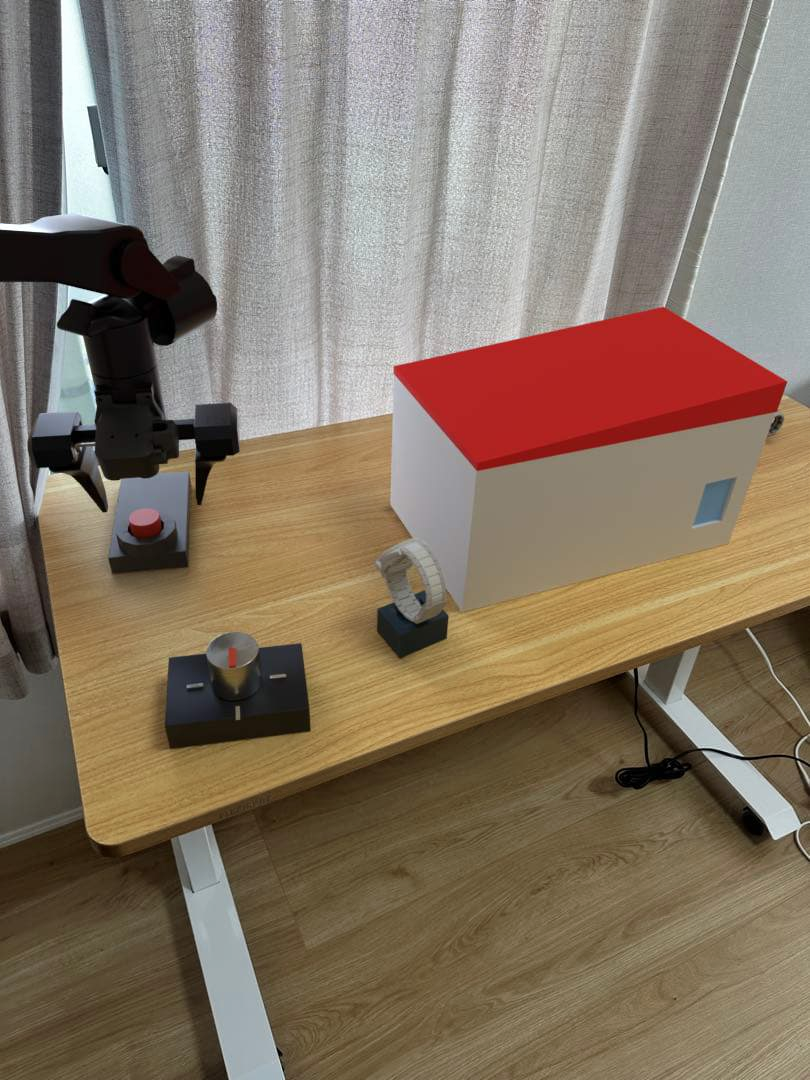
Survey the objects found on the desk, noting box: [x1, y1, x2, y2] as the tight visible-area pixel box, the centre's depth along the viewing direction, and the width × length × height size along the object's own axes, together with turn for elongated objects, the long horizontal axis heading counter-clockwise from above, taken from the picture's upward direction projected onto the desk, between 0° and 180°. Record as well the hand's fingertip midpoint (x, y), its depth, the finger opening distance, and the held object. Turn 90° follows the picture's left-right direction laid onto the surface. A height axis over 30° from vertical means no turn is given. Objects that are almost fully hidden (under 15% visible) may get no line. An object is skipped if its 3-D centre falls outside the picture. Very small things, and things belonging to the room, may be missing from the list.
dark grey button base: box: [107, 470, 192, 575], centre depth 92 cm, size 16×8×4 cm, turn 11°
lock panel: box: [164, 642, 312, 750], centre depth 72 cm, size 12×9×3 cm
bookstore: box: [389, 306, 788, 613], centre depth 90 cm, size 21×35×21 cm, turn 112°
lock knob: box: [205, 631, 262, 701], centre depth 70 cm, size 4×4×4 cm
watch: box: [374, 538, 450, 659], centre depth 77 cm, size 6×8×11 cm
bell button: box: [128, 509, 162, 538], centre depth 86 cm, size 3×3×2 cm
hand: (152, 506), depth 81 cm, fingers open, 9 cm apart
